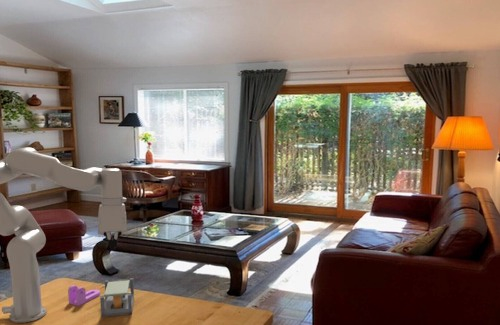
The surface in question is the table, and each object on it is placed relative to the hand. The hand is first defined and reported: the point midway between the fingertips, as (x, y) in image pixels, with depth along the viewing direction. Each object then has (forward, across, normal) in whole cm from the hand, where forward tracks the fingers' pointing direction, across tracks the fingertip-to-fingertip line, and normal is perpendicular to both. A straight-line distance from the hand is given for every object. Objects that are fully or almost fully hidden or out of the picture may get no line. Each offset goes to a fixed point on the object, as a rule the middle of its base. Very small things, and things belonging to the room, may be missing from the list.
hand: (113, 248), depth 168 cm
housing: (+25, -1, -4) cm, 25 cm away
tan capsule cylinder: (+24, -1, 0) cm, 24 cm away
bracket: (+26, +13, -15) cm, 33 cm away
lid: (+18, -1, -4) cm, 18 cm away
